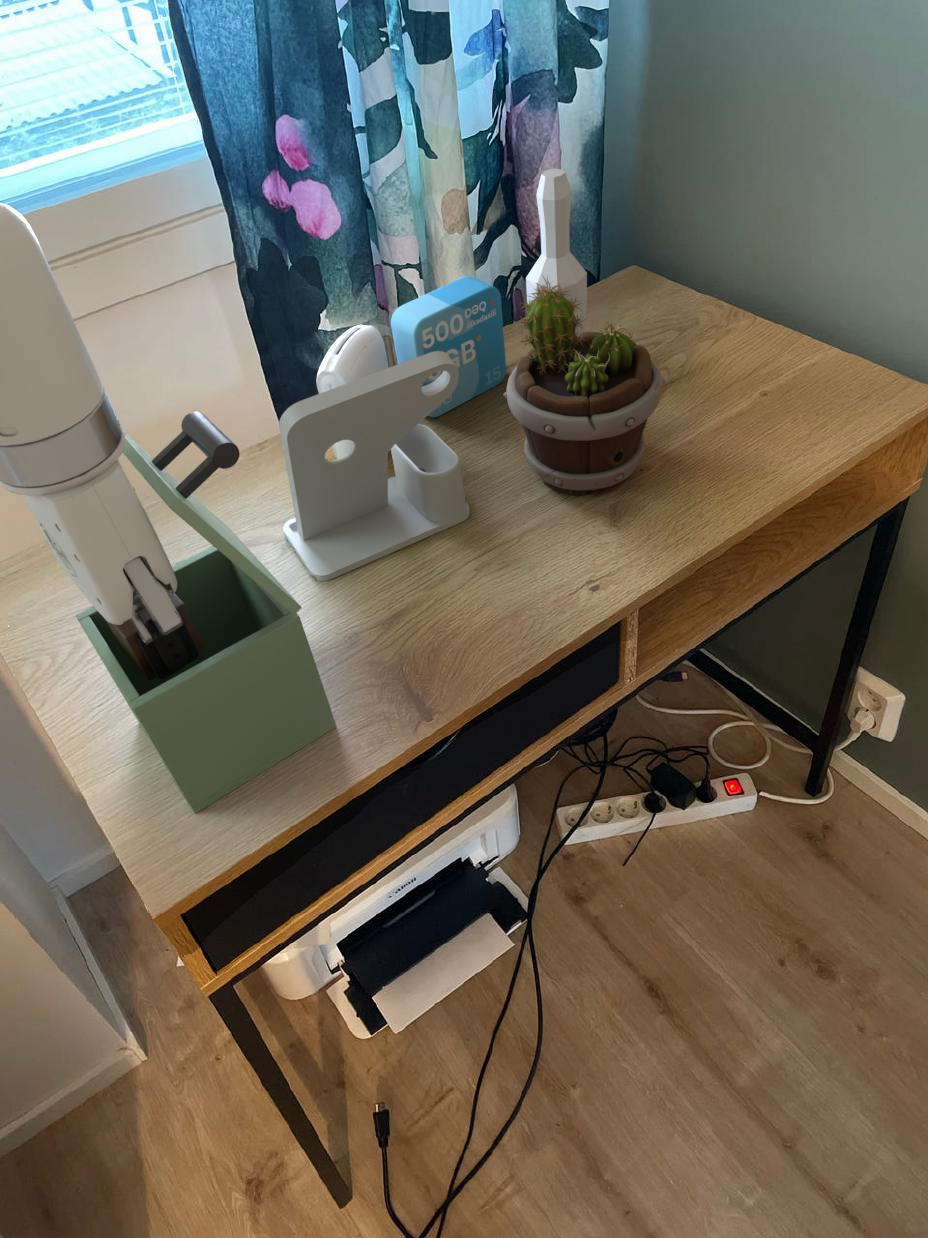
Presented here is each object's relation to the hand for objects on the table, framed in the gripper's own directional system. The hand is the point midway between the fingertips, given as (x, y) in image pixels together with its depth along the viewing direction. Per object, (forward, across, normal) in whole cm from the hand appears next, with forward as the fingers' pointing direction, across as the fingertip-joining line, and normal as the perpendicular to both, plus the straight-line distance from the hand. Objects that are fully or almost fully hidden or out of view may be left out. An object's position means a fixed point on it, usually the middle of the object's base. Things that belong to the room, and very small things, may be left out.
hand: (160, 645), depth 64 cm
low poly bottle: (+12, -19, +58) cm, 62 cm away
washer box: (+11, 0, +2) cm, 12 cm away
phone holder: (+12, -12, +26) cm, 31 cm away
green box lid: (-8, +1, +6) cm, 10 cm away
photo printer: (+12, -24, +34) cm, 43 cm away
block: (0, 0, 0) cm, 0 cm away
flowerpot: (+12, -3, +46) cm, 48 cm away
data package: (+12, -24, +47) cm, 54 cm away
